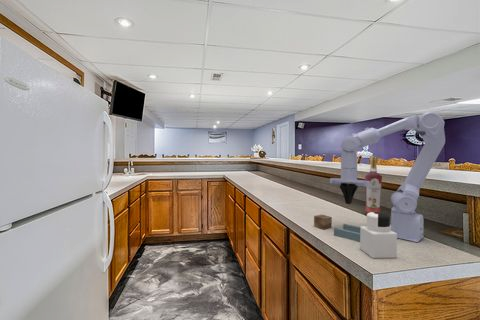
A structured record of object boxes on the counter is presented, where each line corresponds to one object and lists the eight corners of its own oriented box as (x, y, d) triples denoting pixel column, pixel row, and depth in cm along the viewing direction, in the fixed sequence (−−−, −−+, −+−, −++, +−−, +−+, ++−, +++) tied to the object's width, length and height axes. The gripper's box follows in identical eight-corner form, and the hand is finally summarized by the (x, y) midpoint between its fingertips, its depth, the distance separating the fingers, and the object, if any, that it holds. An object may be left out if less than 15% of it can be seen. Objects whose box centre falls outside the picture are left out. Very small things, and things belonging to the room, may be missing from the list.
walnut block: (331, 228, 99) (331, 217, 99) (323, 230, 97) (324, 218, 97) (321, 225, 103) (321, 214, 103) (313, 226, 101) (314, 215, 101)
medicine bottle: (381, 248, 78) (382, 210, 77) (397, 258, 71) (398, 216, 70) (359, 248, 78) (360, 210, 77) (372, 258, 70) (373, 216, 70)
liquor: (365, 216, 117) (366, 156, 116) (362, 212, 124) (363, 156, 123) (383, 217, 115) (384, 157, 114) (379, 213, 122) (380, 156, 121)
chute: (372, 236, 89) (372, 229, 89) (362, 242, 83) (362, 234, 83) (344, 230, 96) (344, 223, 96) (333, 234, 91) (333, 228, 91)
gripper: (373, 168, 92) (372, 205, 93) (336, 166, 103) (335, 199, 104) (365, 169, 88) (364, 207, 88) (327, 167, 99) (326, 201, 99)
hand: (348, 203), depth 96 cm, fingers closed
